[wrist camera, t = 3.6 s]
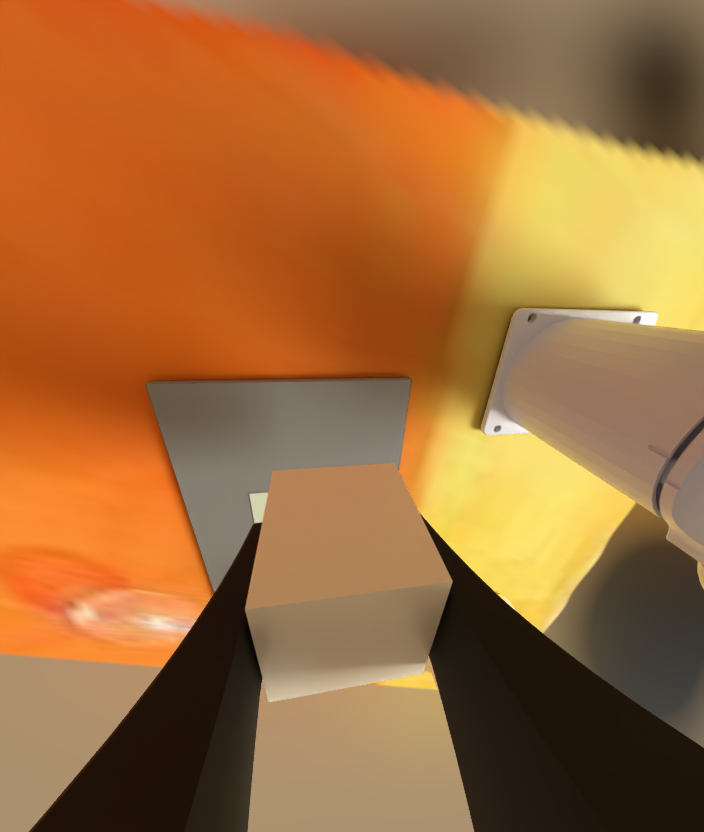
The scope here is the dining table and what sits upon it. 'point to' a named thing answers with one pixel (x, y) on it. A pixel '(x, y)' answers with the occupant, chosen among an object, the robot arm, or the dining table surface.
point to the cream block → (342, 581)
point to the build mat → (267, 443)
